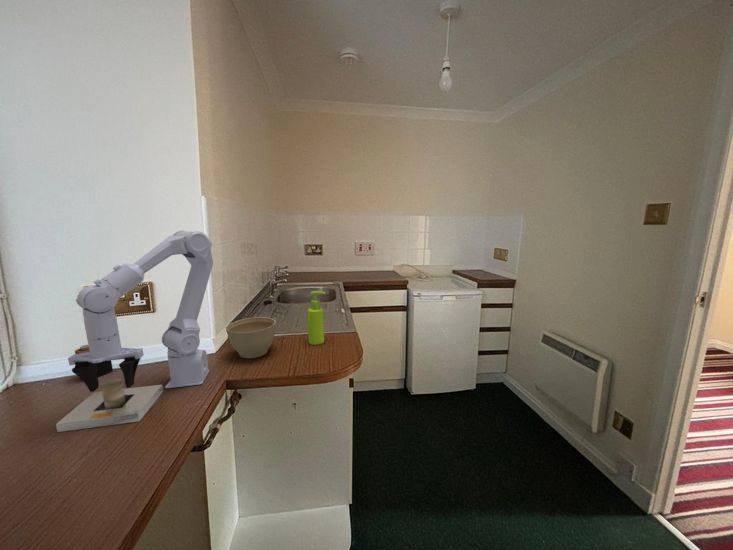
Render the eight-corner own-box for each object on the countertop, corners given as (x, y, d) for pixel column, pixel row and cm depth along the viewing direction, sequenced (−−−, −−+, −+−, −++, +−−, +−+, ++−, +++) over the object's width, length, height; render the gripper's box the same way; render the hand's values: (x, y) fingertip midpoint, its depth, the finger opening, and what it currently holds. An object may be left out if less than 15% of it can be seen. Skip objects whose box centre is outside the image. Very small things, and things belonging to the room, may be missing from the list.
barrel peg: (129, 402, 77) (125, 377, 76) (122, 411, 73) (118, 385, 72) (110, 405, 76) (106, 380, 75) (102, 415, 72) (97, 388, 71)
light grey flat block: (163, 391, 82) (162, 384, 82) (139, 421, 70) (137, 413, 70) (95, 399, 79) (94, 391, 79) (57, 432, 66) (55, 423, 66)
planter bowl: (269, 340, 117) (267, 314, 115) (283, 355, 104) (281, 325, 102) (225, 350, 108) (222, 322, 106) (234, 368, 95) (231, 336, 93)
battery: (79, 378, 90) (73, 347, 88) (106, 368, 96) (101, 339, 94) (86, 381, 88) (80, 349, 86) (113, 371, 94) (108, 341, 92)
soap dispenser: (325, 344, 113) (323, 293, 109) (307, 344, 113) (305, 293, 110) (327, 338, 119) (326, 289, 115) (310, 338, 119) (308, 289, 115)
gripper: (53, 345, 66) (65, 401, 68) (129, 339, 69) (137, 392, 71) (76, 333, 72) (86, 384, 75) (144, 328, 75) (151, 377, 78)
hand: (112, 387), depth 73 cm, fingers open, 7 cm apart
